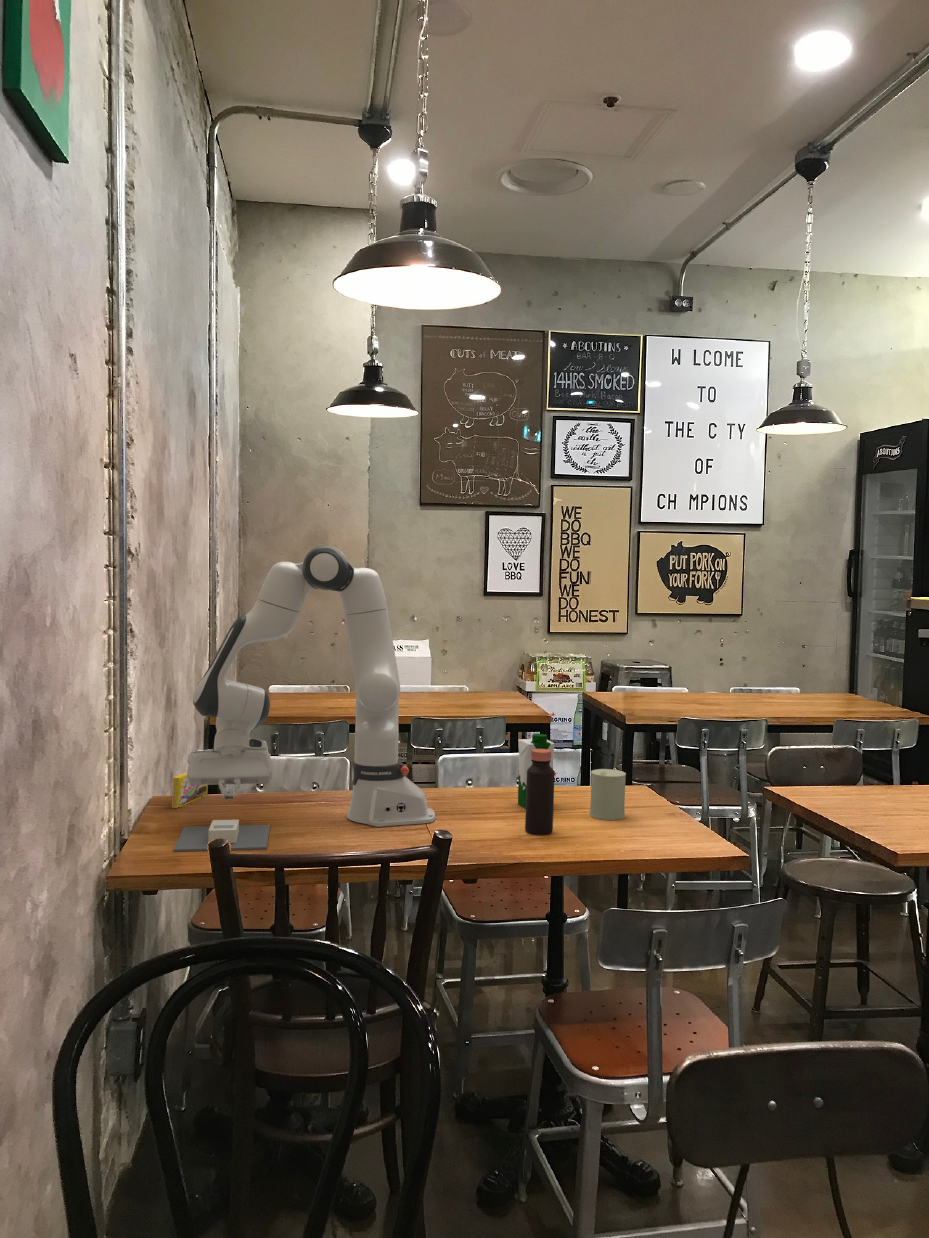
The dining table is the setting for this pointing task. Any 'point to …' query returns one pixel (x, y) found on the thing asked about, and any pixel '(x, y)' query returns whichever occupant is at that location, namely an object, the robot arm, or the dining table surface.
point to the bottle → (539, 793)
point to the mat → (246, 840)
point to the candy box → (185, 791)
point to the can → (607, 794)
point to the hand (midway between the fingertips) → (228, 797)
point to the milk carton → (525, 760)
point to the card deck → (224, 830)
